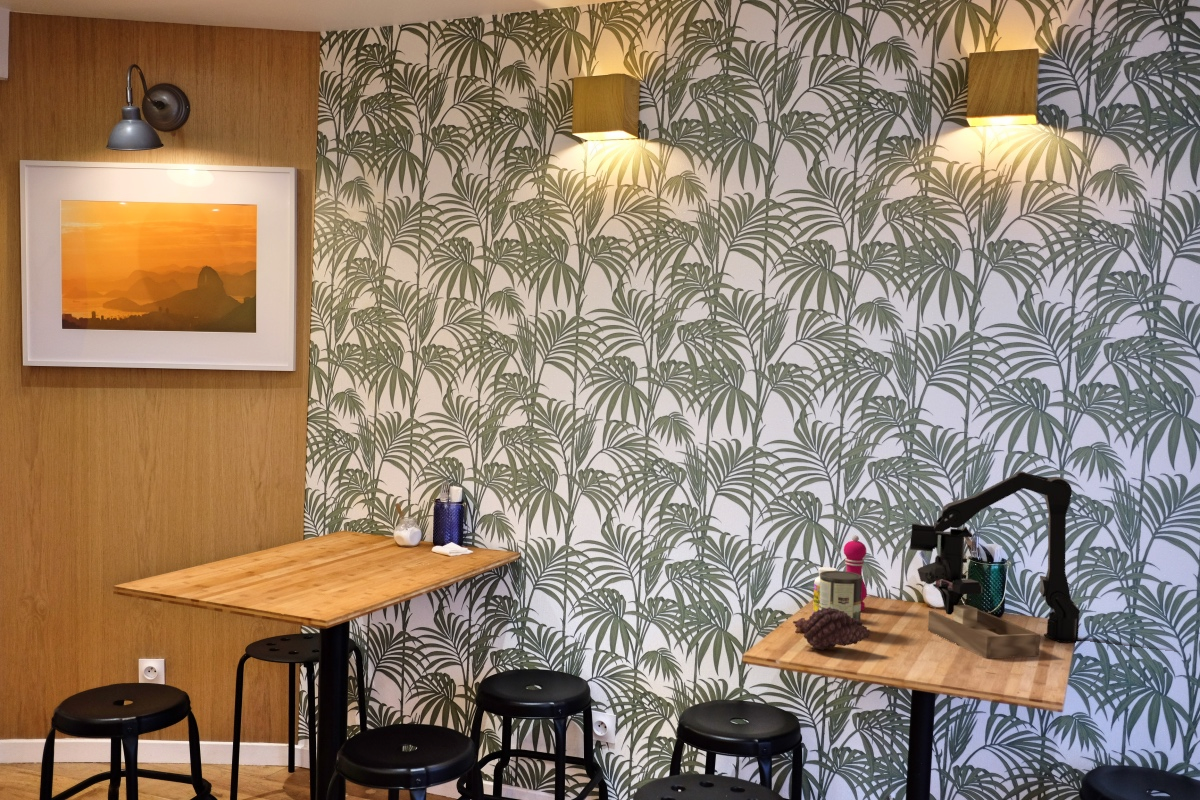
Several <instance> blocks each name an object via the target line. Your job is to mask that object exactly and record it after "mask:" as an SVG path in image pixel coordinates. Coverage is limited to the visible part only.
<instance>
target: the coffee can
mask: <svg viewBox="0 0 1200 800" xmlns="http://www.w3.org/2000/svg"><path fill="white" fill-rule="evenodd" d="M862 578H863V575H862V576H861V575H859V574H857V573H852V572H847V571H846V570H845V571H842V570H837V571H825V572H821V573H820V603H819V610H821V609H822V608H828V607H830V608H832V609H838V610H839V611H844V612H845V613H847V614H848V615H849V616H850V617H851V618H856V619H857V620H860V621H861V612H862V611H861V590H862V589H861V588H862Z"/></svg>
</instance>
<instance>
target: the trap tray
mask: <svg viewBox="0 0 1200 800" xmlns="http://www.w3.org/2000/svg"><path fill="white" fill-rule="evenodd" d="M927 624H928V625H927V632H929V631H930V632H929V633H932V632H933V633H932V634H934V635H936V634H937V635H936V636H938V635H939V636H938V637H940V636H941V637H940V638H942V637H943V638H942V639H944V638H945V640H946V639H947V641H948V640H949V642H951V643H953V644H955V643H956V644H955V645H957V644H958V645H957V646H959V647H961V648H963V649H966V650H968V651H970V652H972V653H974V654H976V655H977V656H978V655H979V656H981V657H982V658H984V657H985V658H984V659H1000V658H999V657H1001V658H1002V657H1005V658H1021V657H1039V656H1040V645H1041V643H1040V642H1041V641H1040V639H1041V634H1039V633H1037V632H1035V631H1032V630H1030V629H1028V628H1026V627H1023V626H1020V625H1018V624H1016V623H1013V622H1010V621H1007V620H1006V619H1003V618H1000V617H998V616H995V615H994V614H991V613H988V612H985V611H984V610H981V609H978V610H977V627H968V626H966V625H963V624H961V623H959V622H957V621H954V620H953V618H952V619H951V618H950V617H947V616H946V615H943V614H940V613H938V612H935V611H934V610H928V623H927ZM1002 659H1003V658H1002Z"/></svg>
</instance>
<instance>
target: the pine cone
mask: <svg viewBox="0 0 1200 800" xmlns="http://www.w3.org/2000/svg"><path fill="white" fill-rule="evenodd" d="M792 623H793V624H794V626H795V628H796V629H795V631H794V633H795V634H796V635H797V634H799V635H803V634H804V635H803V638H804V639H805V640H806V642H807V643H808V644H809V646H812V648H814V649H817V650H818V649H819V650H820V651H822V652H823V651H824V650H825V649H826V650H827V649H828V648H835V646H836V645H837V646H842V647H843V646H844V647H845V646H849V645H850V646H851V645H857V644H858V643H859V642H862V641H863V640H865V639H869V638H870V636H871V635H870V634H871V632H870V631H871V630H870V629H868V627H867V626H865V625H863V622H862V621H861V619H860V620H857V619H856V618H851V617H850V616H849V615H848V614H847V613H845V612H844V611H839V610H838V609H832V608H830V607H828V608H822V609H821V610H818V611H817V612H814V613H813V612H812V615H811V616H809V618H808V619H806V618H805V617H801V618H799V619H798V620H794V621H792Z"/></svg>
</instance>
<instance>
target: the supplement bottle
mask: <svg viewBox="0 0 1200 800" xmlns="http://www.w3.org/2000/svg"><path fill="white" fill-rule="evenodd" d="M825 571H838V569H837V568H835V567H829V566H822V567H818V576H817V577H816V578H815V579H814V582H813V602H812V604H813V605H812V614H813V613H814V612H817V611H818V610H819V603H820V573H821V572H825Z"/></svg>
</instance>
